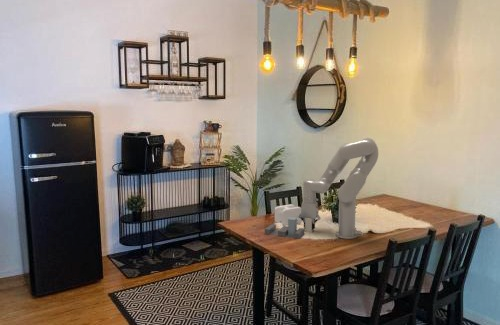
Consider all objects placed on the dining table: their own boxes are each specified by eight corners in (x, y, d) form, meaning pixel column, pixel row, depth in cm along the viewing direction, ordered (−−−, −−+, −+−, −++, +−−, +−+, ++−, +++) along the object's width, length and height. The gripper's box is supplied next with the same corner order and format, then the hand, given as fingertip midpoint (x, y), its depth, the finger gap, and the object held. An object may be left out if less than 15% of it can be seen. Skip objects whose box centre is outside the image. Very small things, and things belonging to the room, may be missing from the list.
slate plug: (296, 234, 234) (296, 218, 232) (294, 236, 230) (294, 219, 228) (290, 233, 235) (290, 217, 234) (288, 235, 232) (288, 219, 230)
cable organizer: (282, 227, 249) (282, 210, 247) (274, 223, 258) (274, 206, 257) (302, 224, 256) (302, 207, 254) (293, 220, 265) (293, 203, 263)
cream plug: (313, 231, 240) (313, 216, 239) (311, 233, 237) (311, 217, 235) (307, 230, 242) (307, 215, 241) (305, 232, 239) (305, 217, 237)
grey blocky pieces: (305, 235, 234) (305, 228, 234) (300, 240, 225) (300, 234, 225) (270, 230, 244) (270, 224, 244) (263, 235, 236) (263, 228, 235)
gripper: (324, 199, 236) (324, 228, 239) (298, 197, 243) (298, 225, 246) (321, 202, 229) (320, 232, 232) (294, 200, 237) (294, 229, 239)
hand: (309, 228), depth 239 cm, fingers closed on cream plug, 4 cm apart
